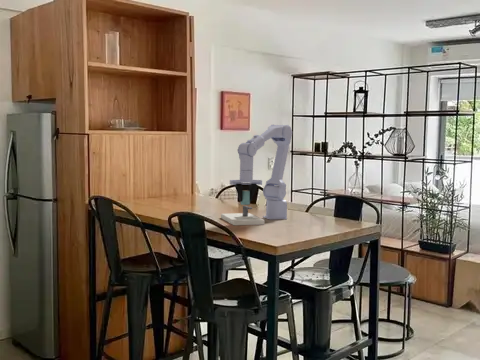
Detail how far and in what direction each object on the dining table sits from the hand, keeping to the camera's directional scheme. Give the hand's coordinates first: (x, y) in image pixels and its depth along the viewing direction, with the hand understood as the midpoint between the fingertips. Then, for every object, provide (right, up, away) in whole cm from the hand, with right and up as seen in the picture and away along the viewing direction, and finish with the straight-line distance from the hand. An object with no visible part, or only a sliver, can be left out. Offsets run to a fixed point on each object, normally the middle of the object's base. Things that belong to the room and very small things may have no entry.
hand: (245, 201), depth 240 cm
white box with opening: (-2, -9, +5) cm, 10 cm away
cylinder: (0, -1, 0) cm, 2 cm away
